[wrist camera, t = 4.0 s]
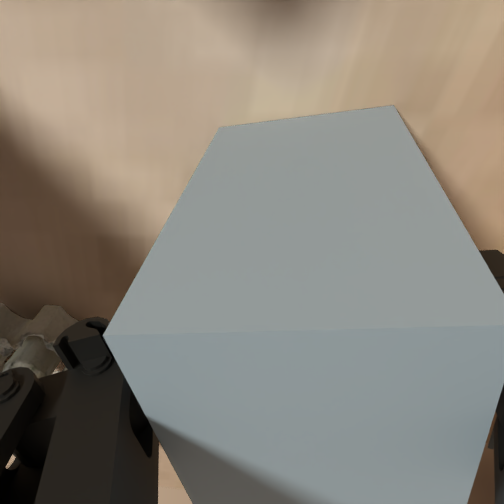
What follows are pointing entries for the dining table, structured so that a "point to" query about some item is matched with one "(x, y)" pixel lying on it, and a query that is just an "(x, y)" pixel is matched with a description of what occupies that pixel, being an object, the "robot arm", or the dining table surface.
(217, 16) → the dining table surface
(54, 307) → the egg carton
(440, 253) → the slate block
